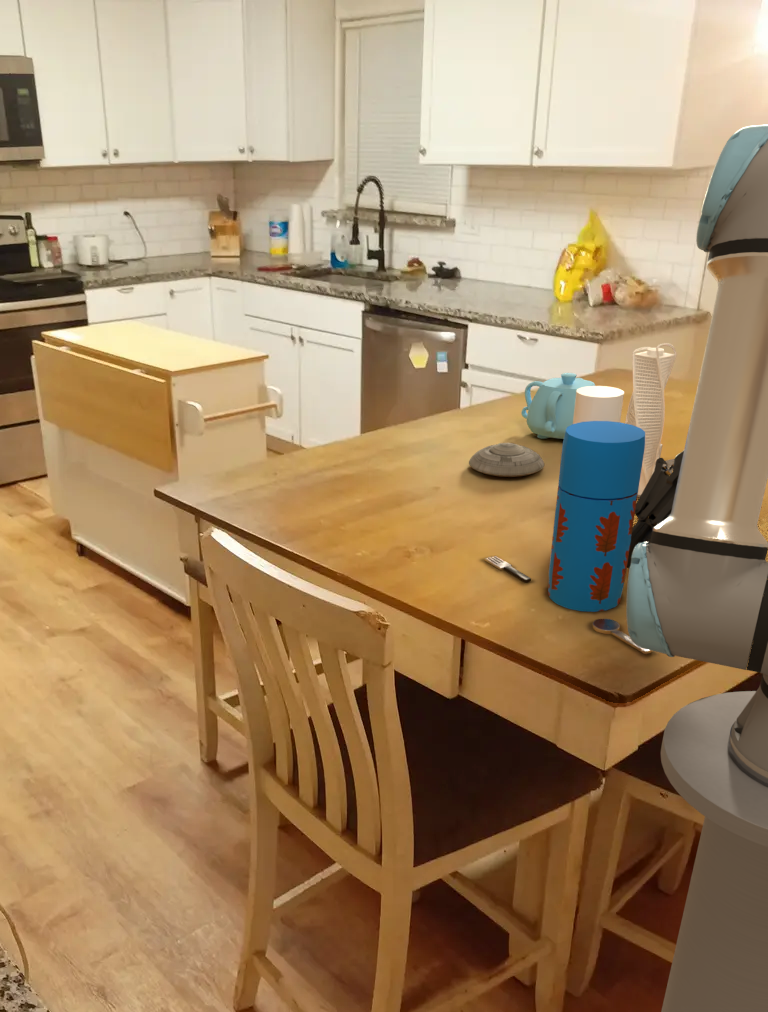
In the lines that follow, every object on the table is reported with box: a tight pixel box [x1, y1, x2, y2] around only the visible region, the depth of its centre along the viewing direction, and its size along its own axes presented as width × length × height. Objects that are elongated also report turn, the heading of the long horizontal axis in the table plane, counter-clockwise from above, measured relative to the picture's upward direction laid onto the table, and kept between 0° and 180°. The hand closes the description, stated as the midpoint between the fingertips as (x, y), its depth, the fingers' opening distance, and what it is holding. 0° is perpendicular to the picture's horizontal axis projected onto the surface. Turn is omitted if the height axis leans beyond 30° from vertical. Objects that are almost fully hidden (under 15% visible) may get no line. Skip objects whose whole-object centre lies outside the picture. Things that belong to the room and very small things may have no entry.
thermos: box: [547, 421, 645, 613], centre depth 135 cm, size 11×11×25 cm
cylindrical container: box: [573, 385, 625, 424], centre depth 154 cm, size 7×7×25 cm
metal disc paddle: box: [592, 618, 653, 655], centre depth 130 cm, size 10×4×1 cm, turn 25°
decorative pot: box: [521, 372, 596, 440], centre depth 209 cm, size 16×16×14 cm
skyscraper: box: [624, 342, 678, 498], centre depth 172 cm, size 8×8×28 cm
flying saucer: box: [468, 442, 545, 478], centre depth 191 cm, size 15×15×6 cm
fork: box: [484, 555, 532, 583], centre depth 150 cm, size 10×2×1 cm, turn 25°
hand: (621, 562), depth 142 cm, fingers closed
